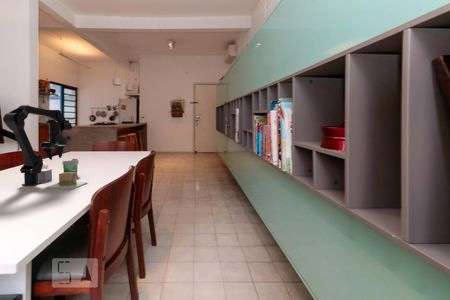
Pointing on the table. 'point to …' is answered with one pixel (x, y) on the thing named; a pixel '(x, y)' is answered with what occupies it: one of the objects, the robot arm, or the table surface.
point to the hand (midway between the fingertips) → (55, 158)
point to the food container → (70, 166)
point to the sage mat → (67, 186)
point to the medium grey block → (45, 175)
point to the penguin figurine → (45, 165)
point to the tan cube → (67, 179)
